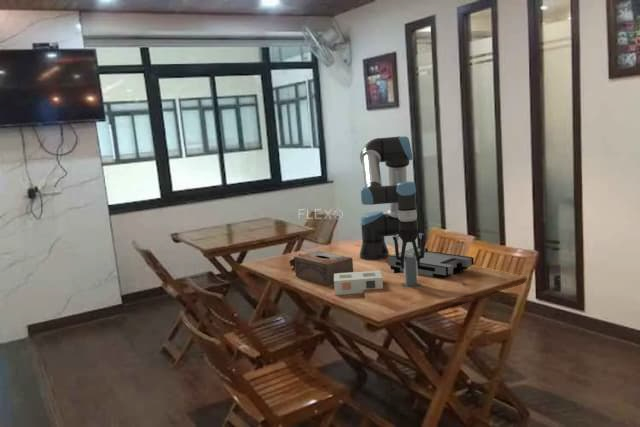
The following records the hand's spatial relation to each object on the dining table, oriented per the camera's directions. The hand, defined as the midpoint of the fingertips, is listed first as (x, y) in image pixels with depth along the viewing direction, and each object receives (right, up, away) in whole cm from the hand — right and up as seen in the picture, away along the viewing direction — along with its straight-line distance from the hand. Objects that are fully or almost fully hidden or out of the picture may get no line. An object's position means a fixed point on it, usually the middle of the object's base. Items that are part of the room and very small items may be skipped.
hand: (410, 275), depth 231 cm
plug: (0, -4, +1) cm, 4 cm away
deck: (0, -6, +1) cm, 6 cm away
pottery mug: (-47, -2, +50) cm, 69 cm away
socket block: (-21, -7, +6) cm, 23 cm away
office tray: (+13, -2, +23) cm, 27 cm away
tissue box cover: (-36, -5, +29) cm, 46 cm away
